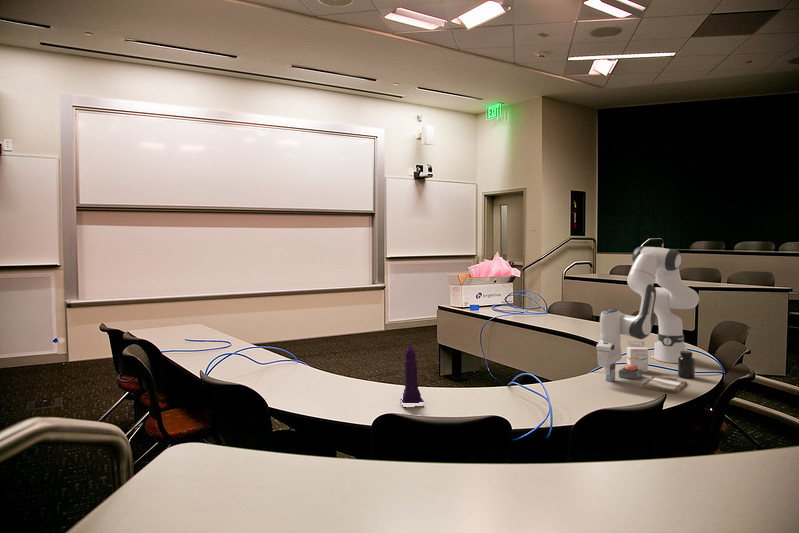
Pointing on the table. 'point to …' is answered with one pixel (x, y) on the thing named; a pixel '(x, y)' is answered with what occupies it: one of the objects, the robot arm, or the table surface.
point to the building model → (411, 378)
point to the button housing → (630, 374)
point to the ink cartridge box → (637, 355)
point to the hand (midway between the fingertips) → (610, 372)
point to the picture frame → (664, 384)
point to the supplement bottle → (686, 365)
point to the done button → (630, 368)
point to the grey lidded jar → (611, 376)
